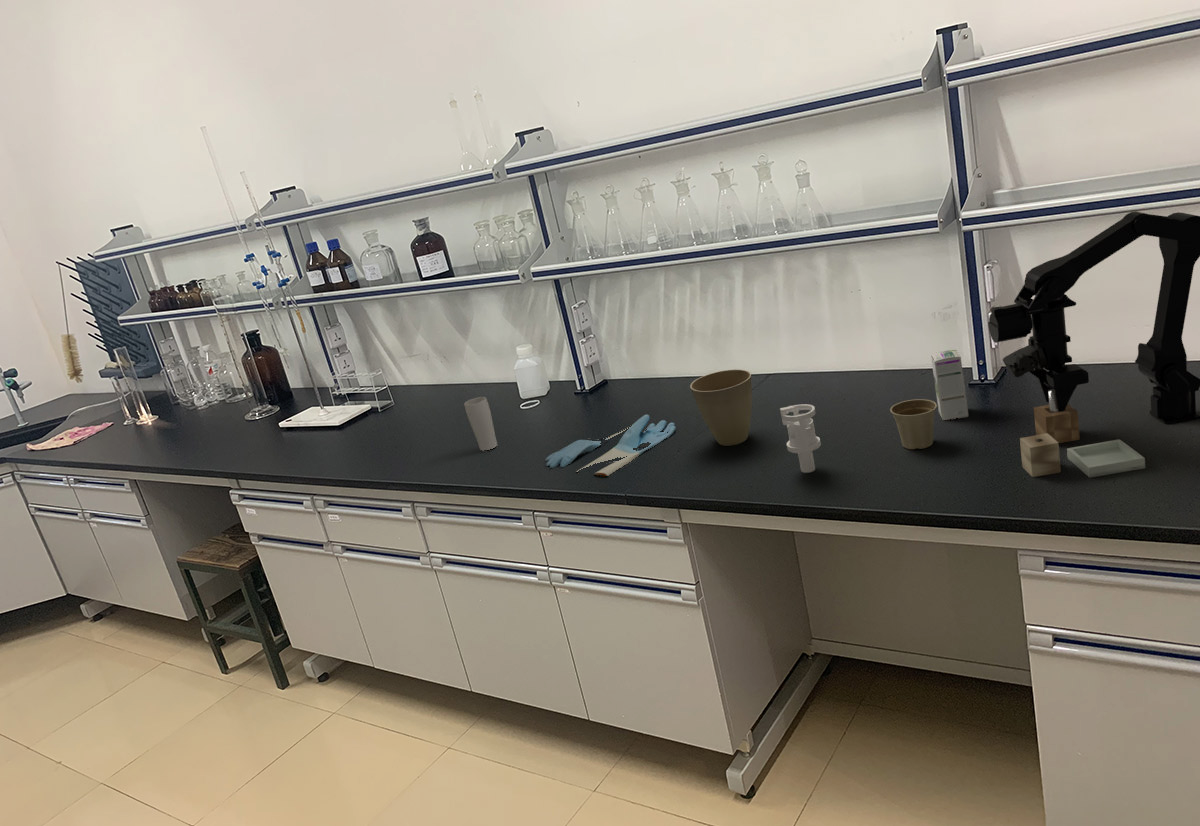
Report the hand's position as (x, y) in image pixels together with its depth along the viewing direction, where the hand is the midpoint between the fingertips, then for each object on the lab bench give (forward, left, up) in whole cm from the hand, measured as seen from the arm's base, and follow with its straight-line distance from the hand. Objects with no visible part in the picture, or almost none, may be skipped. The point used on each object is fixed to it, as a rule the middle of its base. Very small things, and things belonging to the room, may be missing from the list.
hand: (1055, 406), depth 172 cm
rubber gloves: (+96, -44, -8) cm, 106 cm away
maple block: (+8, +13, -7) cm, 17 cm away
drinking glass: (+134, -62, -7) cm, 148 cm away
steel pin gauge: (0, 0, -7) cm, 7 cm away
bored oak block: (0, 0, -7) cm, 7 cm away
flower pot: (+25, -9, -7) cm, 28 cm away
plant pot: (+64, -32, -7) cm, 72 cm away
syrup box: (+14, -22, -7) cm, 27 cm away
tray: (-2, +15, -7) cm, 17 cm away
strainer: (+49, -6, -7) cm, 50 cm away
